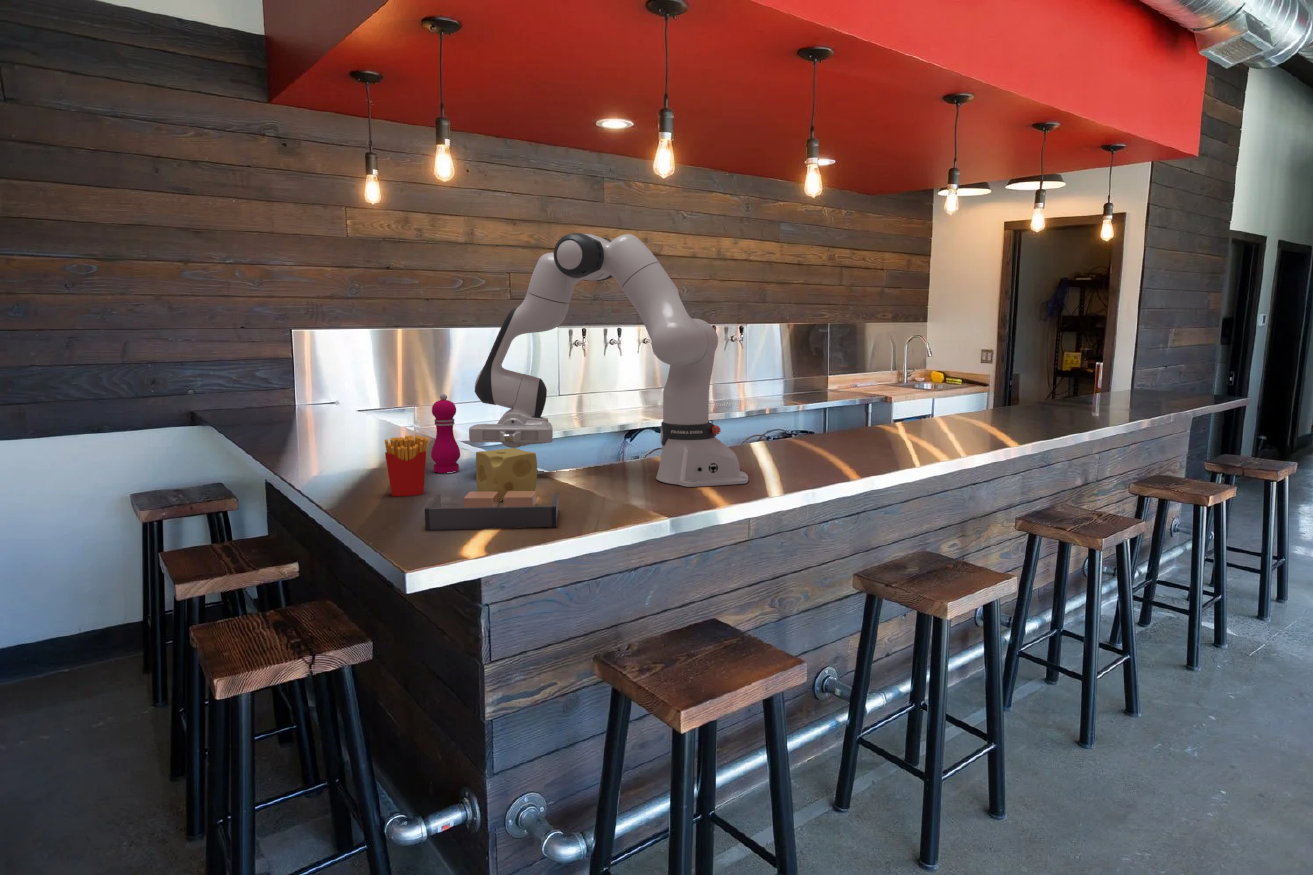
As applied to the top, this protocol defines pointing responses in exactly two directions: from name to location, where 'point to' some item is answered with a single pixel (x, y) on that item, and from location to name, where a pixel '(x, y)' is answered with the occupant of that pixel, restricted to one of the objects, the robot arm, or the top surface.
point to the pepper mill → (444, 437)
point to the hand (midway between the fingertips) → (508, 438)
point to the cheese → (506, 471)
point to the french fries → (406, 465)
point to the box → (489, 516)
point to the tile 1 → (481, 499)
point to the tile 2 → (519, 498)
